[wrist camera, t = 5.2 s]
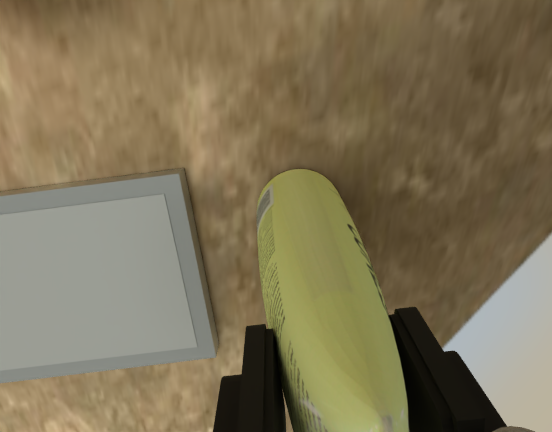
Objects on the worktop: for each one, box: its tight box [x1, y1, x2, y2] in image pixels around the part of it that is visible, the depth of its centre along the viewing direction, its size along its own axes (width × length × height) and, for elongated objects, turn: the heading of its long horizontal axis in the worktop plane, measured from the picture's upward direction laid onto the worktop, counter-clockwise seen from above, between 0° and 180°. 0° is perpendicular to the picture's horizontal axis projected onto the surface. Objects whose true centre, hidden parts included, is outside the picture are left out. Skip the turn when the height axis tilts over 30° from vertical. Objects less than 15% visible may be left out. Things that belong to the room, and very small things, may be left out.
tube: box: [257, 169, 409, 432], centre depth 15 cm, size 6×5×20 cm
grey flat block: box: [0, 168, 219, 383], centre depth 25 cm, size 16×12×2 cm
